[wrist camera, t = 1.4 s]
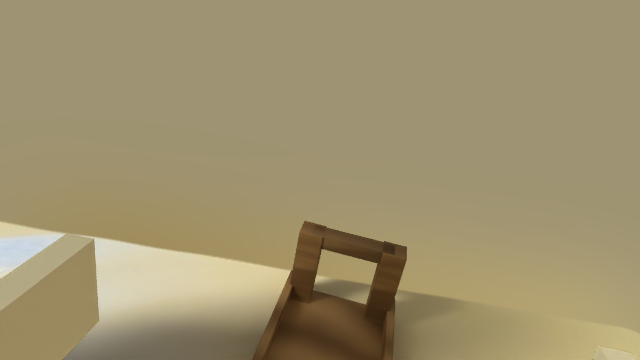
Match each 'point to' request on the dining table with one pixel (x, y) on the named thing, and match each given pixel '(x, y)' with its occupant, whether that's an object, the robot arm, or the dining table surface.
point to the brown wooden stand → (334, 304)
